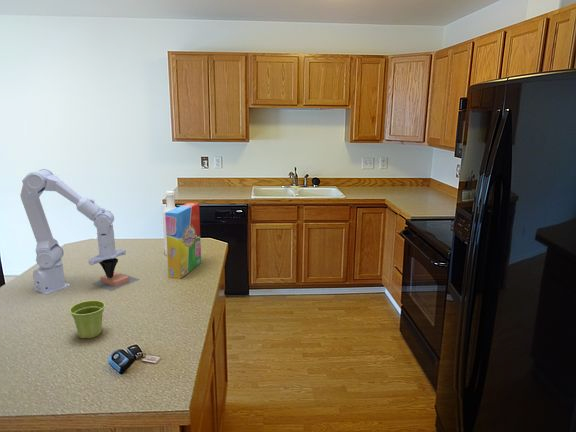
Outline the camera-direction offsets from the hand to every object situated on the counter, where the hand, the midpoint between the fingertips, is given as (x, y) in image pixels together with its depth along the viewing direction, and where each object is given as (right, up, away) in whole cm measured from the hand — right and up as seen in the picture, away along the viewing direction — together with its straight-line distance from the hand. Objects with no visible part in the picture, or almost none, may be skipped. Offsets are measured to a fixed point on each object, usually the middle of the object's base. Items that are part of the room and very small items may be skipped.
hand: (109, 277), depth 154 cm
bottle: (+14, +5, +37) cm, 40 cm away
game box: (+25, 0, +17) cm, 30 cm away
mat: (+1, -2, +3) cm, 4 cm away
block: (0, -2, 0) cm, 2 cm away
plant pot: (+10, -12, -35) cm, 38 cm away
